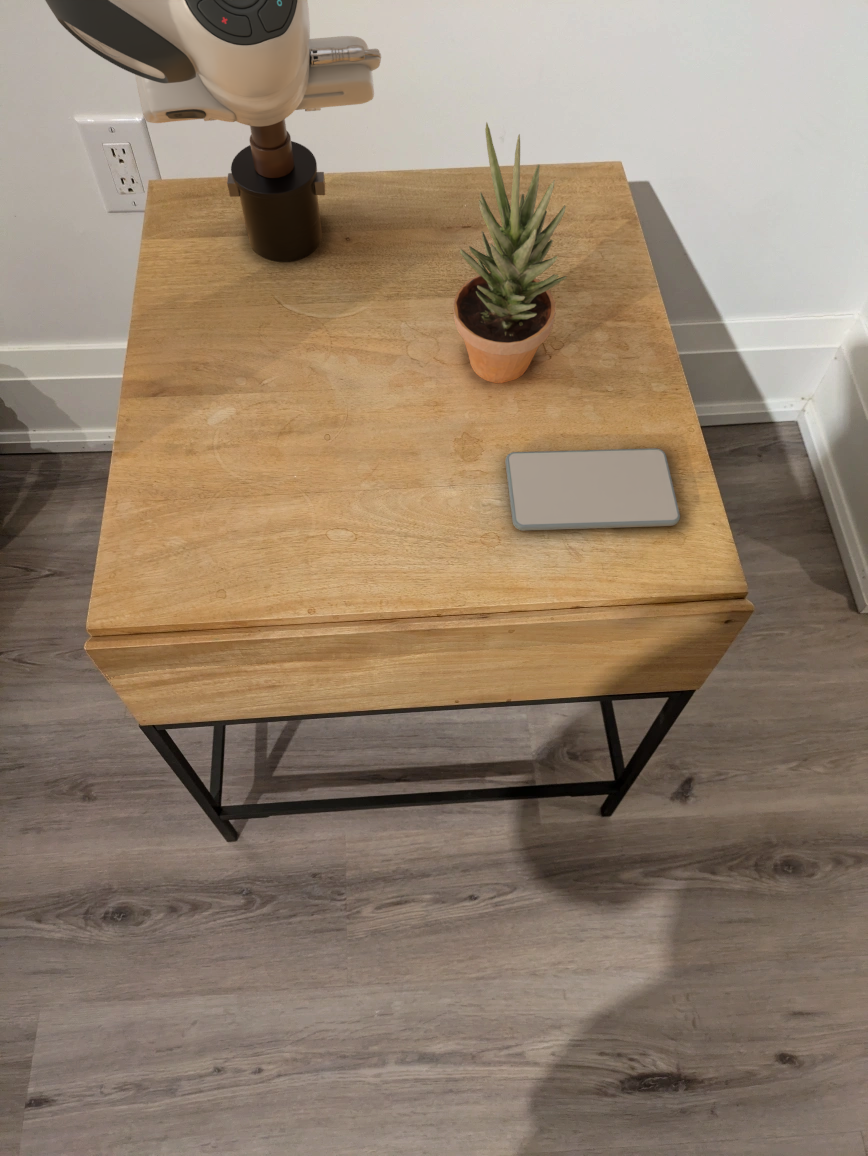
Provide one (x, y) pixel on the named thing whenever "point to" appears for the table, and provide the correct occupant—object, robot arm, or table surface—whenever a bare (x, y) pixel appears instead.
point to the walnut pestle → (272, 150)
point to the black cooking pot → (280, 205)
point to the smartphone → (591, 489)
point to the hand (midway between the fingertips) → (261, 106)
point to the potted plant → (508, 281)
